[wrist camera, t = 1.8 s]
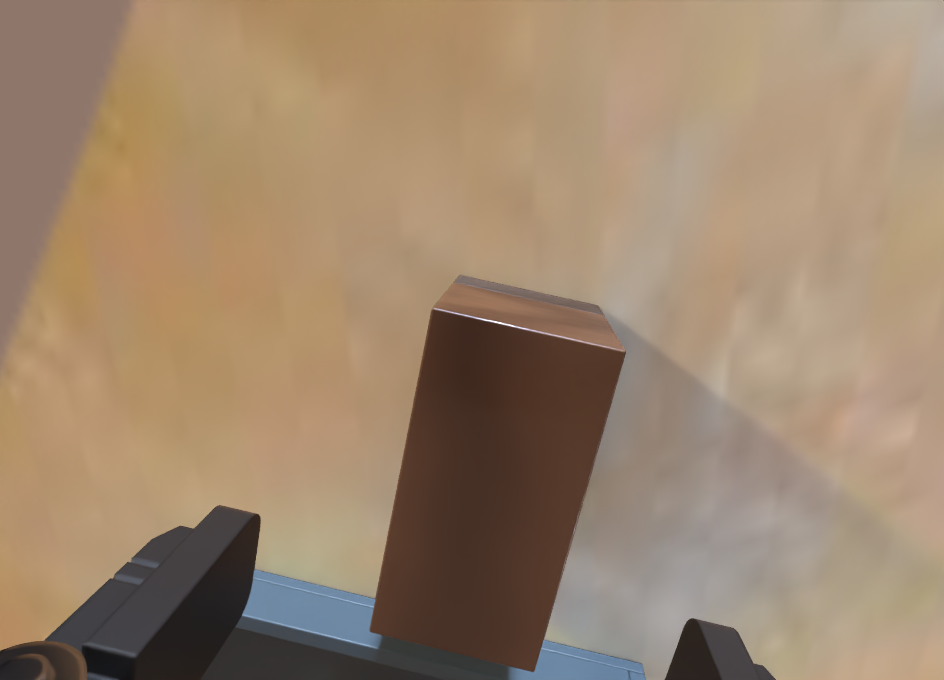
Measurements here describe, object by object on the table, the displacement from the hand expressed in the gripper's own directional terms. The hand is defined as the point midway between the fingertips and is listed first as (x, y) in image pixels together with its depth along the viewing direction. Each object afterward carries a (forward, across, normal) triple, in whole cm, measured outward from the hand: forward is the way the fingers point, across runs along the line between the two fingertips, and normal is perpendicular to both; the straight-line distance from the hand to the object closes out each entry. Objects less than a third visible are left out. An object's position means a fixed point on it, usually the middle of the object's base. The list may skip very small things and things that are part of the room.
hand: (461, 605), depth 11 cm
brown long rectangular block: (+9, 0, 0) cm, 9 cm away
